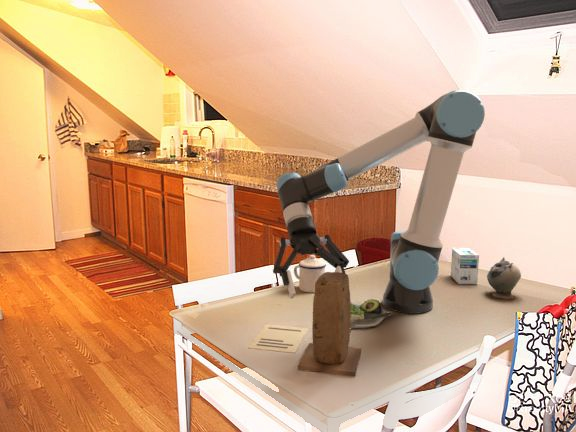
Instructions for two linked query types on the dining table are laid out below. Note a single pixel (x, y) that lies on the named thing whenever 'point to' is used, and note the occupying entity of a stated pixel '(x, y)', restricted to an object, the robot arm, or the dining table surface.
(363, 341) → the dining table surface
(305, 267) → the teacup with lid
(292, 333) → the letter
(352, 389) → the dining table surface
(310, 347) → the plate
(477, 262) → the light bulb box
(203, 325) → the dining table surface
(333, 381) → the dining table surface
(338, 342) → the brown tall rough part
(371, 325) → the salad plate
